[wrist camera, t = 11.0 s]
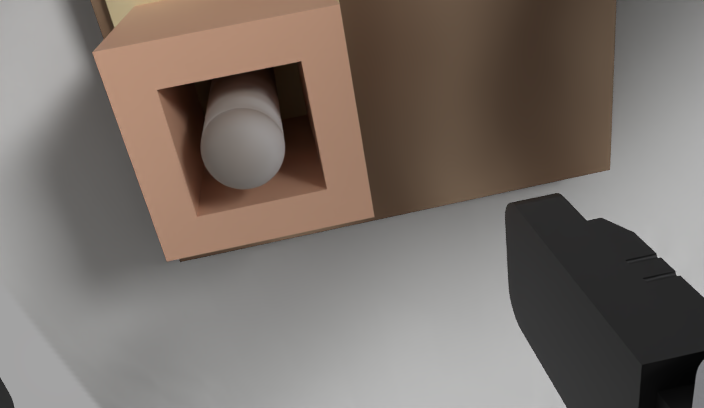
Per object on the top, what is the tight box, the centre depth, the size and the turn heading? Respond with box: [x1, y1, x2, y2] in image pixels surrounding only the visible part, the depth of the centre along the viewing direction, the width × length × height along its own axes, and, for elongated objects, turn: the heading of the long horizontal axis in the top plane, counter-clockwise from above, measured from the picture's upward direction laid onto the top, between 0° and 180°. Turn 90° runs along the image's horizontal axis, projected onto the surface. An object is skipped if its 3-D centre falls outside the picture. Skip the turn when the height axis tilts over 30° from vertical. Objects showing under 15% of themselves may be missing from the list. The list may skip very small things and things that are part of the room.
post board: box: [90, 0, 616, 262], centre depth 19 cm, size 17×13×9 cm
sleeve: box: [92, 0, 374, 261], centre depth 18 cm, size 6×6×6 cm
